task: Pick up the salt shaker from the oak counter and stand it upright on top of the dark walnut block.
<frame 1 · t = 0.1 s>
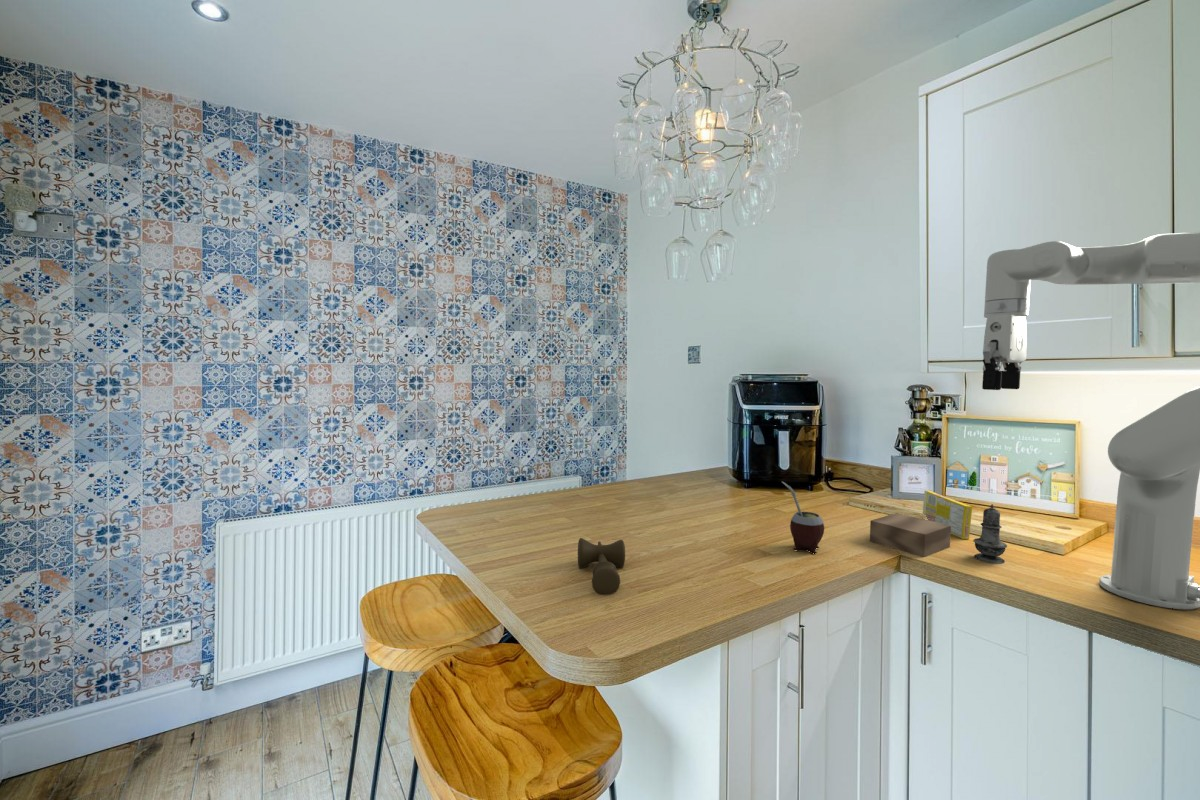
hand: (1000, 389, 111), 37 cm above the worktop, tool pointing down, fingers open, 9 cm apart
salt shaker: (989, 559, 111), on the worktop
mate gourd: (803, 550, 116), on the worktop
candy box: (944, 530, 131), on the worktop
kendama: (602, 575, 101), on the worktop
walnut block: (909, 544, 120), on the worktop
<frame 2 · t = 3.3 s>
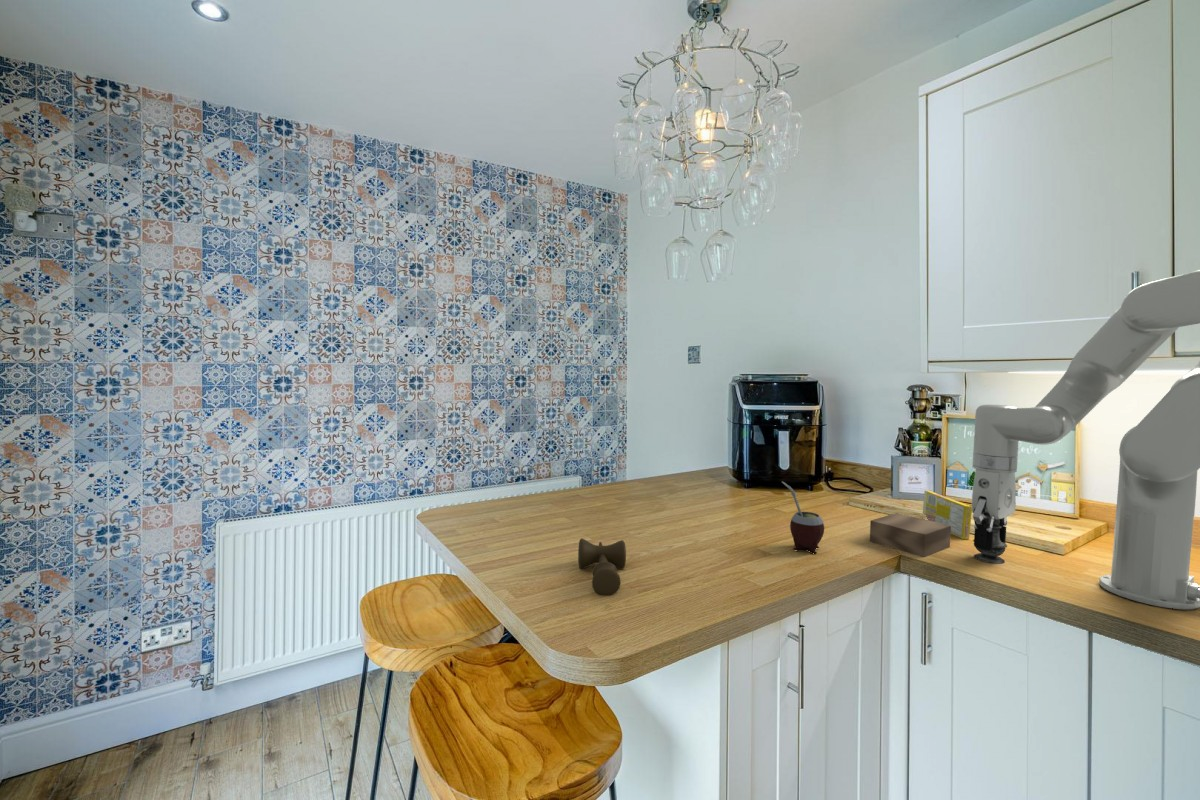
hand: (989, 544, 110), 3 cm above the worktop, tool pointing down, fingers closed on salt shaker, 5 cm apart
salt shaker: (989, 559, 111), on the worktop, touching gripper
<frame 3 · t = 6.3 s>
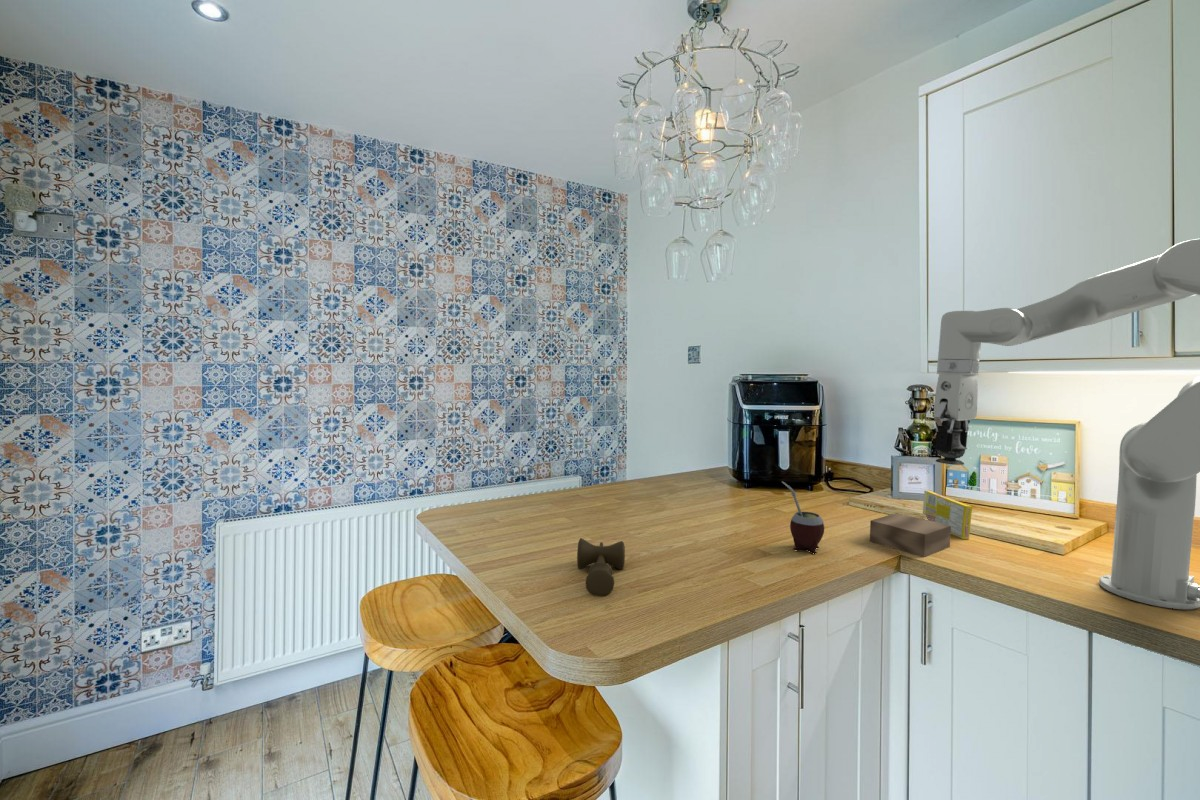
hand: (950, 448, 114), 23 cm above the worktop, tool pointing down, fingers closed on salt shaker, 5 cm apart
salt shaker: (949, 463, 114), point 20 cm above the worktop, touching gripper
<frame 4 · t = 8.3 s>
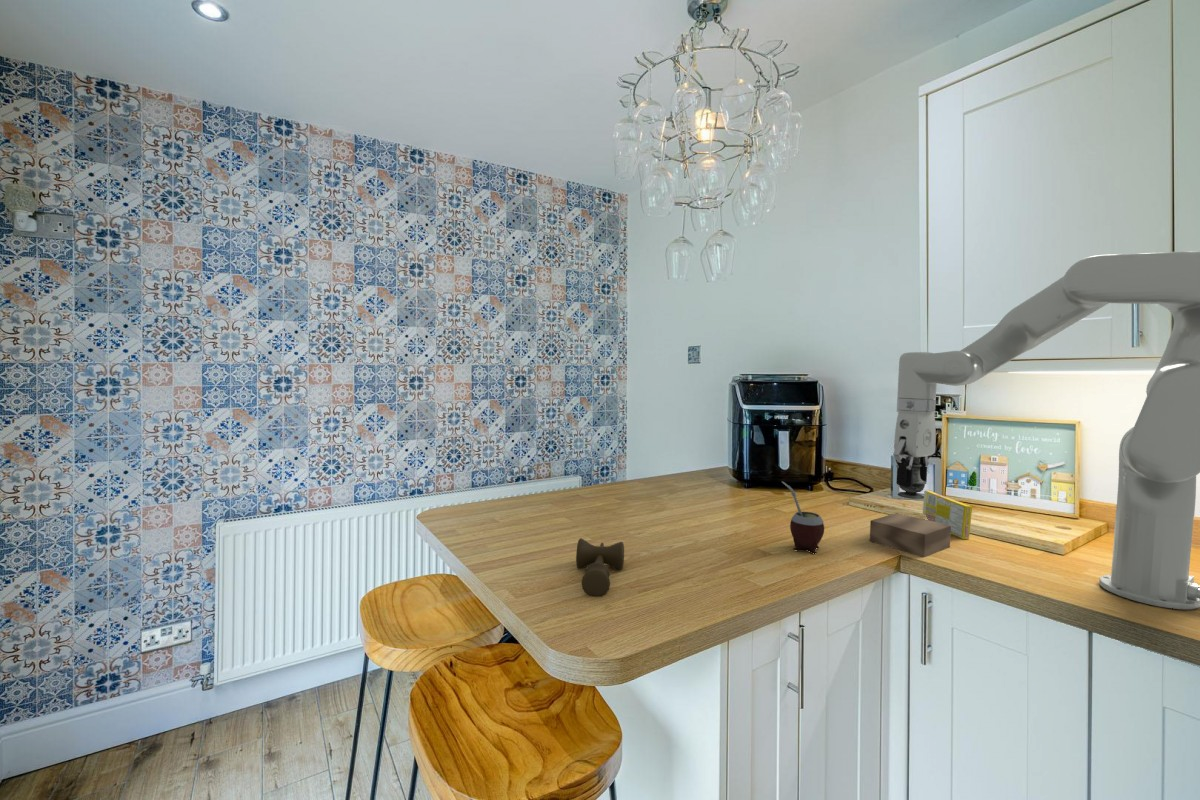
hand: (911, 483, 119), 14 cm above the worktop, tool pointing down, fingers closed on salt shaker, 5 cm apart
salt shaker: (910, 497, 119), point 11 cm above the worktop, touching gripper
when the fingers open (10 cm above the worktop, at t = 9.6 s): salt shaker drops 2 cm, resting on walnut block.
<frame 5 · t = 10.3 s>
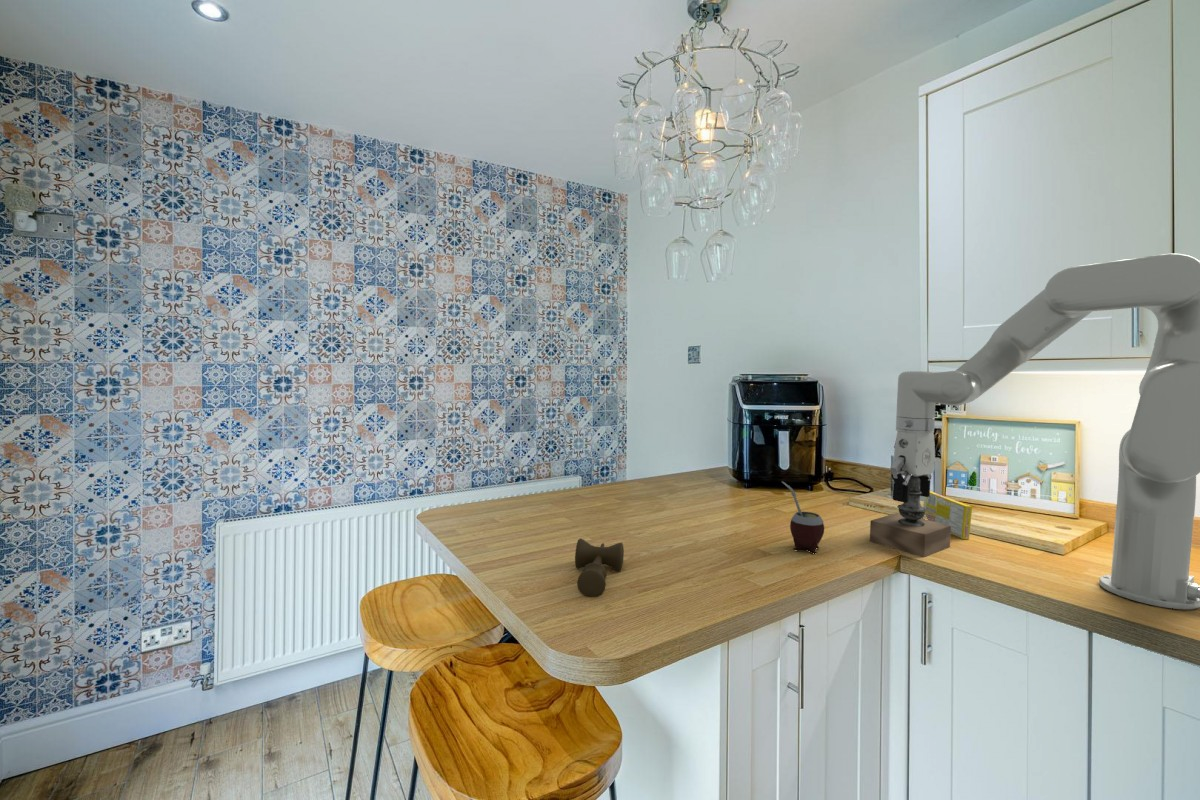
hand: (911, 498, 119), 11 cm above the worktop, tool pointing down, fingers open, 9 cm apart
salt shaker: (911, 523, 119), point 5 cm above the worktop, touching walnut block
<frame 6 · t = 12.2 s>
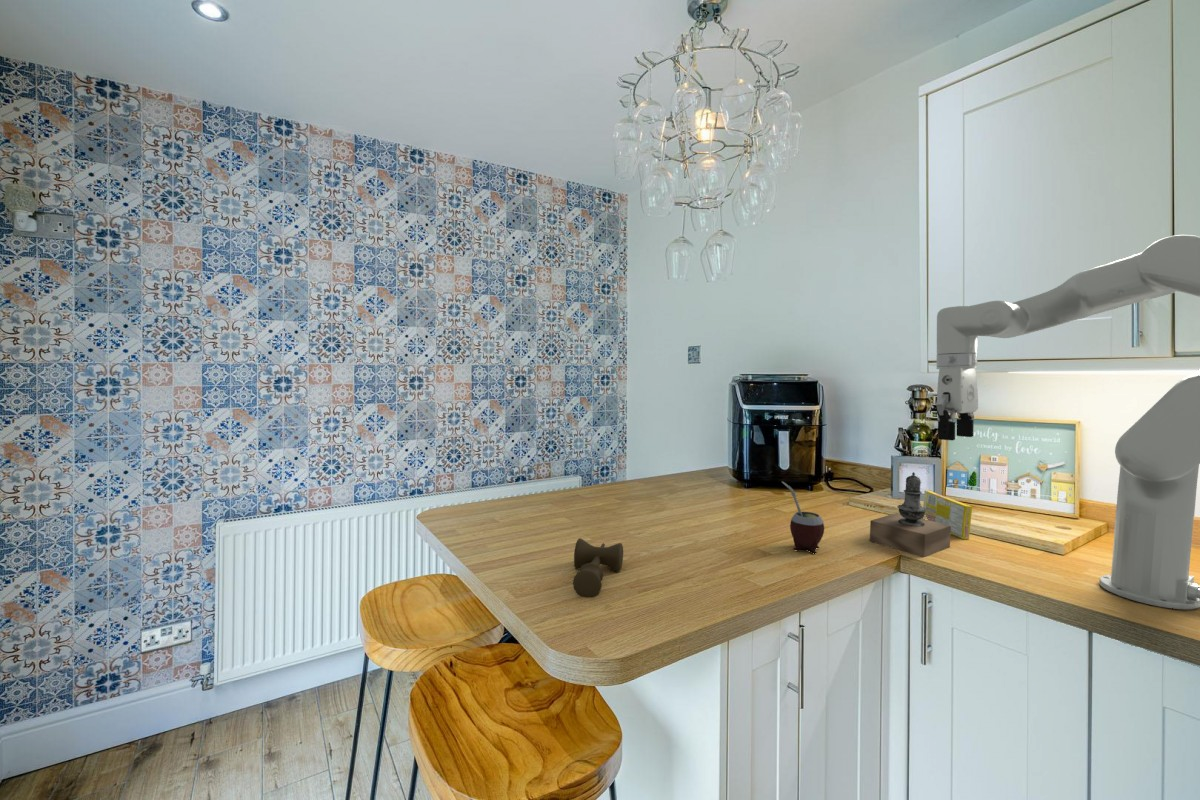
hand: (955, 438, 116), 25 cm above the worktop, tool pointing down, fingers open, 9 cm apart
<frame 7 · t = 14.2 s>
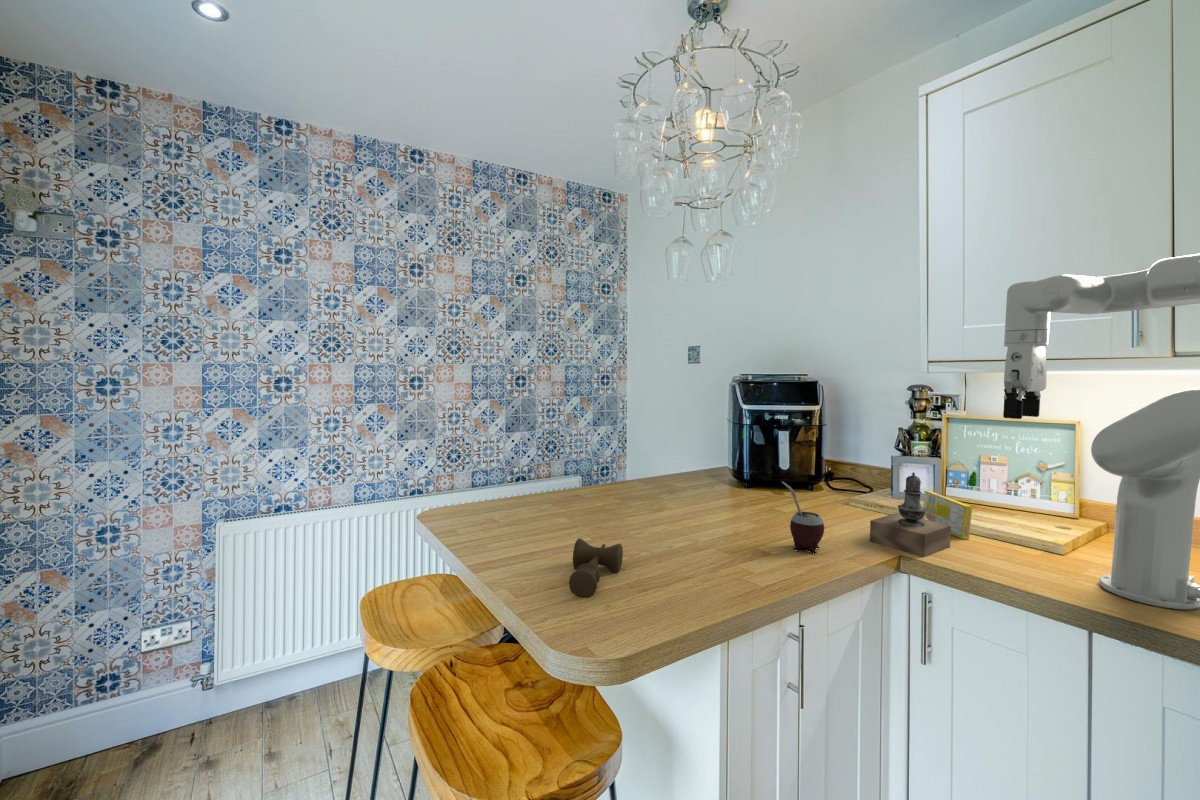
hand: (1021, 417, 113), 30 cm above the worktop, tool pointing down, fingers open, 9 cm apart
at the end: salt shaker inside the target area on the walnut block (0.2 cm from its centre), point 4.8 cm above the walnut block's base; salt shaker tilted 0°; the gripper is holding nothing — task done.
